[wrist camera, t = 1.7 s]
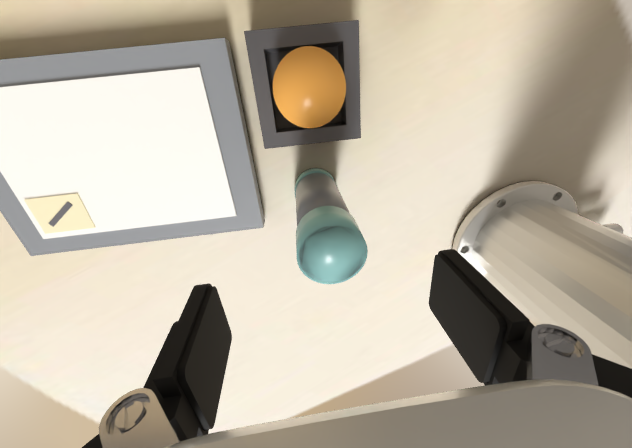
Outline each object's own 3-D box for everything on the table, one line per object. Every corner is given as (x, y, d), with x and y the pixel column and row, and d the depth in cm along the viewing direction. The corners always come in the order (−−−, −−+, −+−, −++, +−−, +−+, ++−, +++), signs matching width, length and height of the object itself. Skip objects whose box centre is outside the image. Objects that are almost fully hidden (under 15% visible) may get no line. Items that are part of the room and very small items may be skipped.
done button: (337, 48, 17) (344, 42, 15) (341, 120, 19) (347, 124, 17) (269, 55, 17) (266, 50, 15) (280, 127, 19) (278, 131, 17)
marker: (334, 165, 23) (367, 219, 14) (337, 205, 25) (367, 279, 15) (291, 170, 23) (292, 228, 14) (297, 210, 25) (301, 287, 15)
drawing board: (229, 41, 19) (223, 36, 17) (264, 220, 25) (263, 229, 24) (-69, 70, 18) (-104, 68, 17) (44, 246, 25) (27, 258, 23)
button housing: (349, 29, 19) (358, 20, 17) (352, 132, 22) (360, 138, 20) (250, 39, 19) (244, 31, 16) (267, 141, 22) (264, 148, 19)
